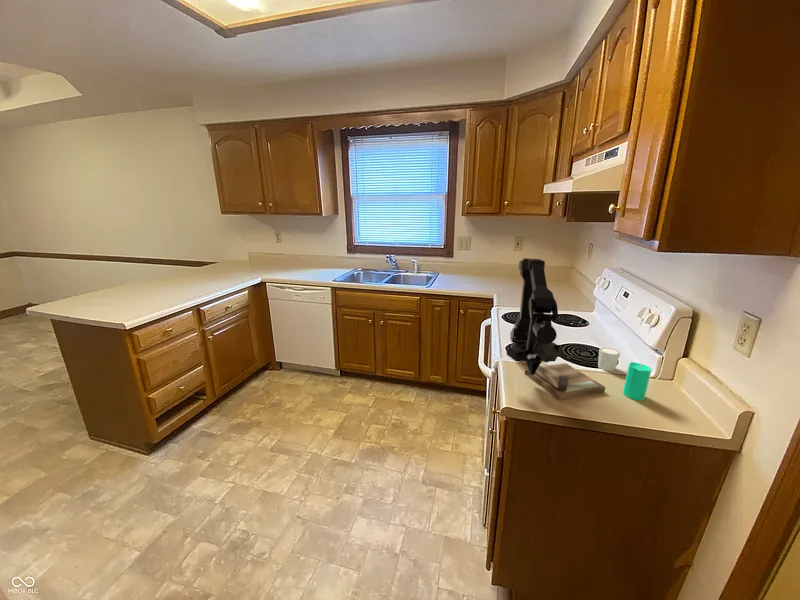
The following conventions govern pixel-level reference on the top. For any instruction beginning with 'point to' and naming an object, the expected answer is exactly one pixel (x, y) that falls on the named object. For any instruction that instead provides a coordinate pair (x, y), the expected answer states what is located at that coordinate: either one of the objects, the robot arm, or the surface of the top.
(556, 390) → the stool seat
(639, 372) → the candle
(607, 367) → the white mug
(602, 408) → the top surface
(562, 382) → the hinged leg
